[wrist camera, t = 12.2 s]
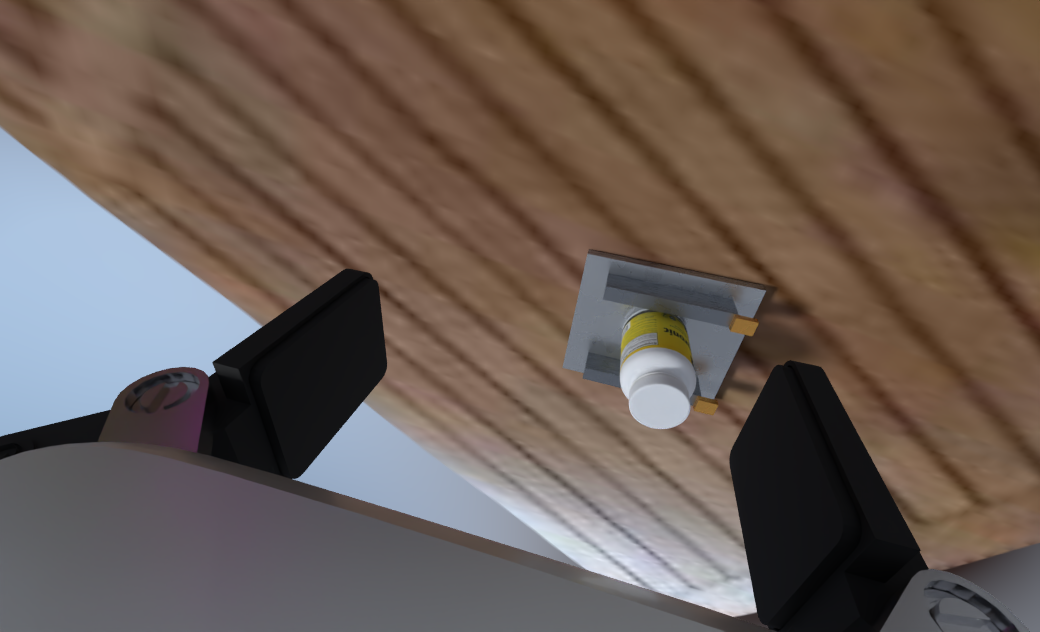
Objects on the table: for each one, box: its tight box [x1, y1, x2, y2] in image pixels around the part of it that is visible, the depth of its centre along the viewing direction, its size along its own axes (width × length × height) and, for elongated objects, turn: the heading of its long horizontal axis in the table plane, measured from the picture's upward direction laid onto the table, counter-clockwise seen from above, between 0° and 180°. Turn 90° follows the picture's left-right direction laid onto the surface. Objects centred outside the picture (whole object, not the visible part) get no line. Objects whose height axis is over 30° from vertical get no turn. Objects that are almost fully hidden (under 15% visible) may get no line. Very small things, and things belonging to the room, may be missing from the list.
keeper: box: [563, 250, 766, 415], centre depth 36 cm, size 14×12×4 cm
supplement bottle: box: [620, 309, 696, 429], centre depth 33 cm, size 5×5×10 cm
